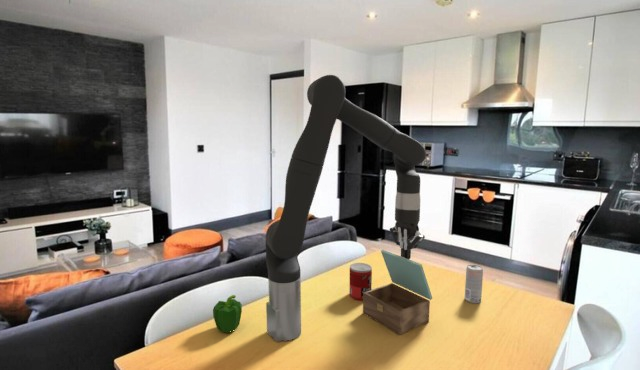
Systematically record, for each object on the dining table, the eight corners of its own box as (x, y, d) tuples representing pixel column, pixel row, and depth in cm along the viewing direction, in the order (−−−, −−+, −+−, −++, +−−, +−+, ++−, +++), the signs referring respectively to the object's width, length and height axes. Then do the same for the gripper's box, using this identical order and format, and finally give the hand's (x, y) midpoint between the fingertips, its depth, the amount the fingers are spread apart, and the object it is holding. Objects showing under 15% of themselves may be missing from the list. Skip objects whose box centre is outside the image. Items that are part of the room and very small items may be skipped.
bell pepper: (215, 339, 105) (214, 306, 104) (212, 324, 113) (211, 294, 111) (245, 332, 108) (244, 300, 107) (240, 319, 116) (239, 289, 114)
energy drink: (478, 296, 131) (480, 264, 129) (483, 304, 126) (485, 270, 124) (462, 296, 131) (464, 264, 130) (467, 303, 126) (469, 269, 124)
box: (398, 335, 107) (399, 312, 106) (362, 313, 120) (362, 292, 119) (428, 322, 114) (429, 300, 113) (391, 302, 127) (392, 283, 126)
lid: (419, 265, 108) (421, 264, 108) (380, 250, 121) (382, 249, 122) (430, 300, 113) (432, 298, 113) (392, 282, 126) (393, 280, 127)
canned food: (364, 302, 127) (365, 272, 125) (345, 296, 131) (345, 267, 130) (375, 295, 133) (375, 265, 131) (356, 289, 138) (356, 261, 136)
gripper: (383, 204, 117) (382, 256, 120) (416, 211, 106) (413, 268, 109) (400, 201, 121) (398, 252, 124) (432, 208, 111) (430, 263, 113)
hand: (405, 259), depth 116 cm, fingers closed
